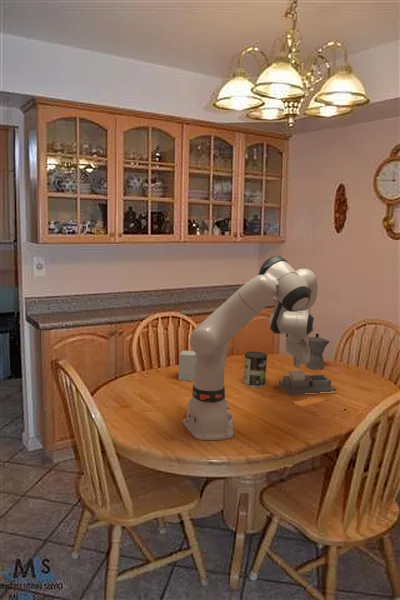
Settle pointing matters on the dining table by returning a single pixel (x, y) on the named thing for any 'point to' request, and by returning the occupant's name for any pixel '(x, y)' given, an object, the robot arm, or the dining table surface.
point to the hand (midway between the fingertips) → (296, 366)
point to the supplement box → (187, 365)
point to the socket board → (307, 385)
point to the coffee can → (255, 369)
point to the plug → (297, 376)
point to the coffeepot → (316, 352)
